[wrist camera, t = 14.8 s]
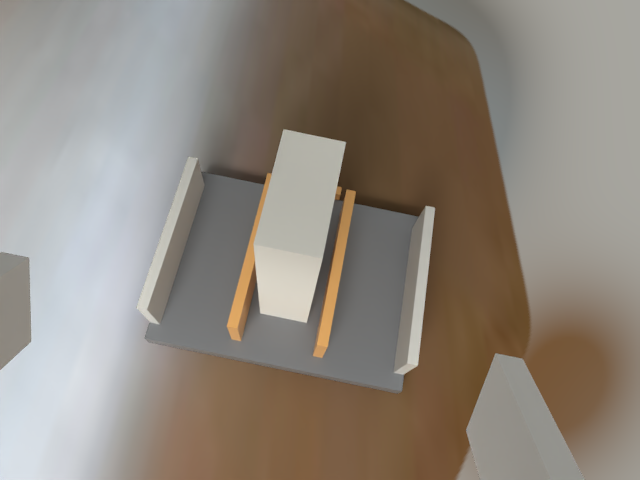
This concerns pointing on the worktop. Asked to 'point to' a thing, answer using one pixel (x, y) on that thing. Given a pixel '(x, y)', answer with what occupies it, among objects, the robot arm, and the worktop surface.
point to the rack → (329, 297)
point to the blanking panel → (296, 223)
